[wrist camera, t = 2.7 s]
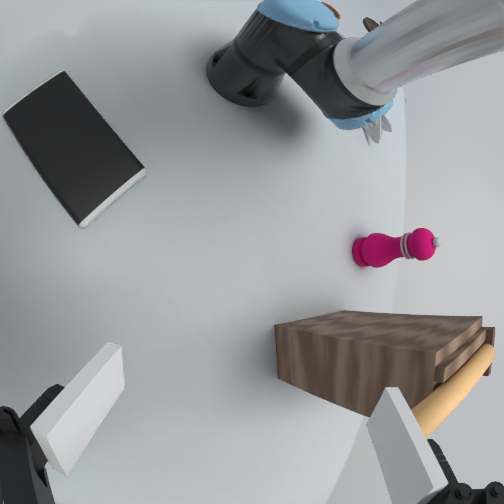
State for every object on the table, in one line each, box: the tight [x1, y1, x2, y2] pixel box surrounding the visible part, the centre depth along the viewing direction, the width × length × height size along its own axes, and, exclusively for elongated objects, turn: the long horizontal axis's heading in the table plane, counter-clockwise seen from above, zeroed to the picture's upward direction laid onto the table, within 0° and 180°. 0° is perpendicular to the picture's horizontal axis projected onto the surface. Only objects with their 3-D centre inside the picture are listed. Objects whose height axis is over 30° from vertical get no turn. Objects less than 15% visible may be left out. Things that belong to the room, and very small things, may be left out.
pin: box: [411, 344, 495, 438], centre depth 22 cm, size 24×3×3 cm, turn 94°
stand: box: [275, 310, 495, 417], centre depth 38 cm, size 17×10×32 cm, turn 94°
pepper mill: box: [353, 228, 441, 268], centre depth 52 cm, size 7×7×20 cm
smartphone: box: [3, 70, 146, 228], centre depth 35 cm, size 13×27×2 cm, turn 45°
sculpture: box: [363, 115, 392, 143], centre depth 64 cm, size 18×20×6 cm
